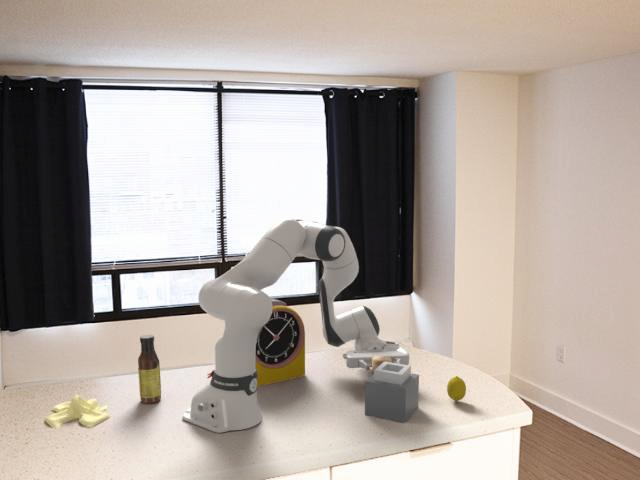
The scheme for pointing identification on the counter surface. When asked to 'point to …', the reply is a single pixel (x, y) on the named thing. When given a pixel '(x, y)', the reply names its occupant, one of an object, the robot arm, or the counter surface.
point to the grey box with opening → (392, 392)
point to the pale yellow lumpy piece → (78, 412)
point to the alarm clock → (280, 346)
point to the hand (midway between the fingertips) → (382, 366)
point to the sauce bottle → (149, 371)
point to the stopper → (379, 361)
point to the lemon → (456, 388)
